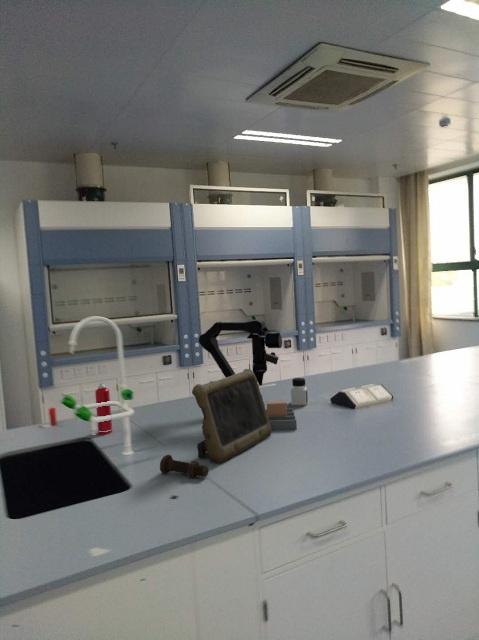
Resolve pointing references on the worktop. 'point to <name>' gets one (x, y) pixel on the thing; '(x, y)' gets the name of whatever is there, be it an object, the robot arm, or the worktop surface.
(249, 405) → the tablet
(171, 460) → the bolt
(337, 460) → the worktop surface
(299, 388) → the medicine bottle
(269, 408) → the tall tan upright block
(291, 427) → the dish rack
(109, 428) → the bottle
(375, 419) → the worktop surface
